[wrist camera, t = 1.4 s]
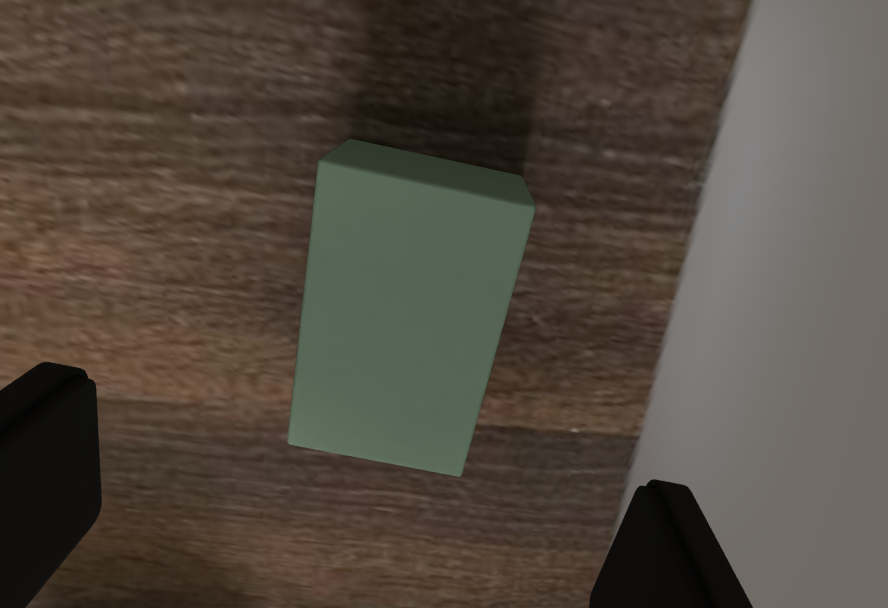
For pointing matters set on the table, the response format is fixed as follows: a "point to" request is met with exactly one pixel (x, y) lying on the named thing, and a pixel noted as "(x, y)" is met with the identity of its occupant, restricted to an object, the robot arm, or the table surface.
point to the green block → (404, 303)
